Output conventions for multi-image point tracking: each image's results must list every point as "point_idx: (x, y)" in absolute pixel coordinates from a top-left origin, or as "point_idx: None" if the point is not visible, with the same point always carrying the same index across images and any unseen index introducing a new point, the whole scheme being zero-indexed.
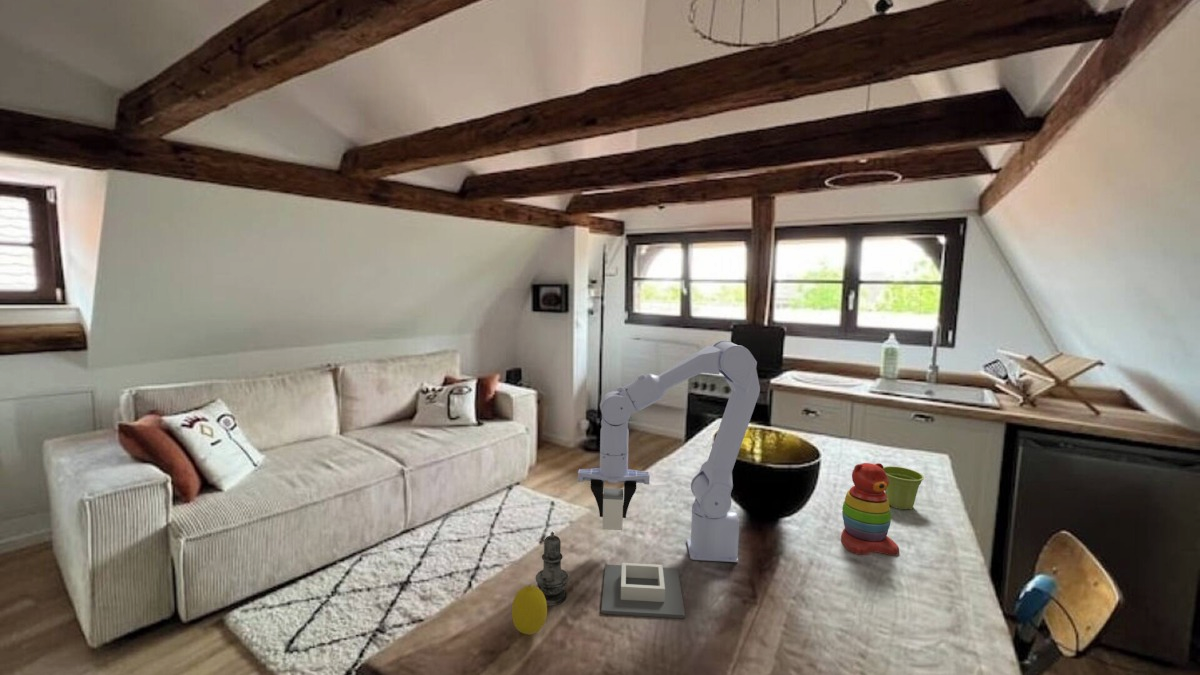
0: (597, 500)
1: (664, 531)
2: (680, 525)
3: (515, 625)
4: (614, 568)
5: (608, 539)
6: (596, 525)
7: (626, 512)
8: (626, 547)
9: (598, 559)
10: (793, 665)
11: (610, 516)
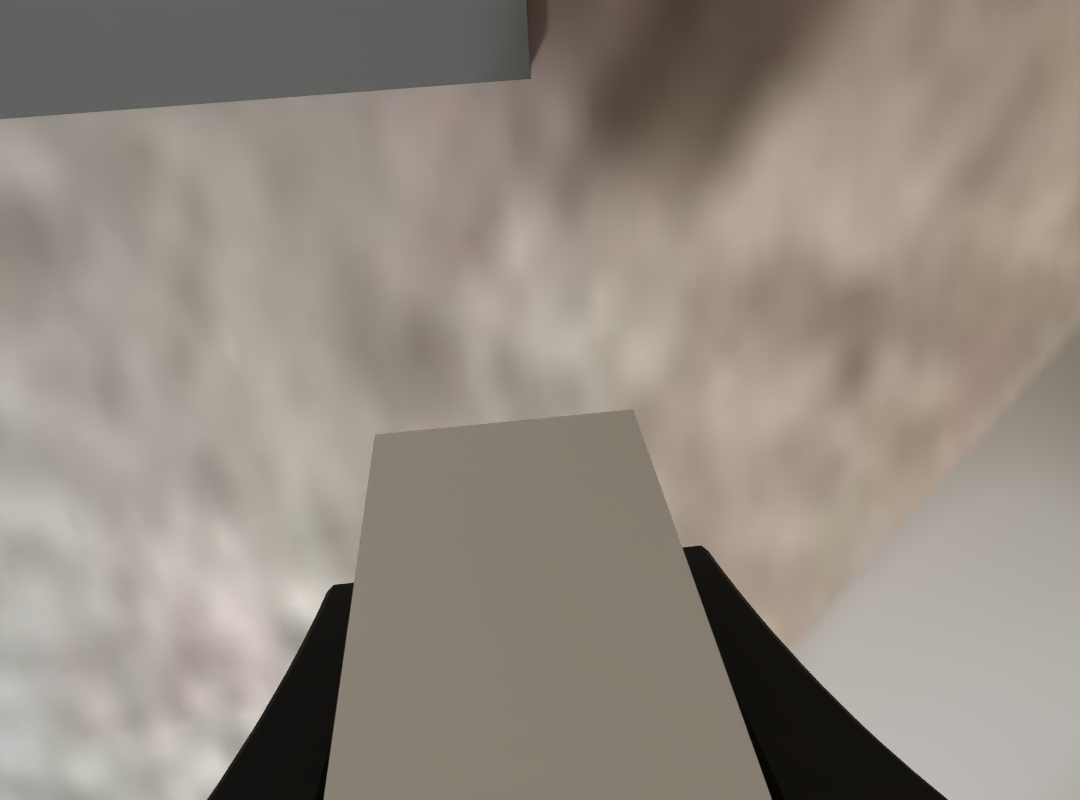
0: (869, 752)
1: (131, 688)
2: (37, 771)
3: None
4: (424, 12)
5: None
6: None
7: (300, 650)
8: None
9: (611, 206)
10: None
11: (553, 540)
